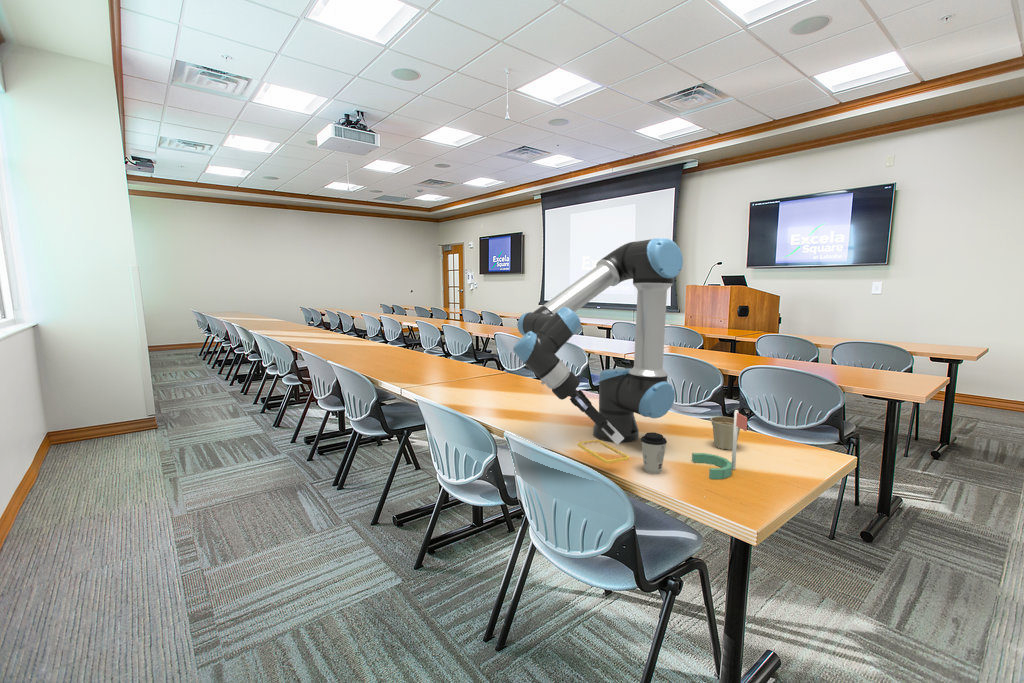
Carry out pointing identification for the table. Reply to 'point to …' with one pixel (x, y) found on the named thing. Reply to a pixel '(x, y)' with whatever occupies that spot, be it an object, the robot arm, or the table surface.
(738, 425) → the flag
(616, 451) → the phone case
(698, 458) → the cup ring
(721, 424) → the flower pot
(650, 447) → the coffee cup
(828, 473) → the table surface
